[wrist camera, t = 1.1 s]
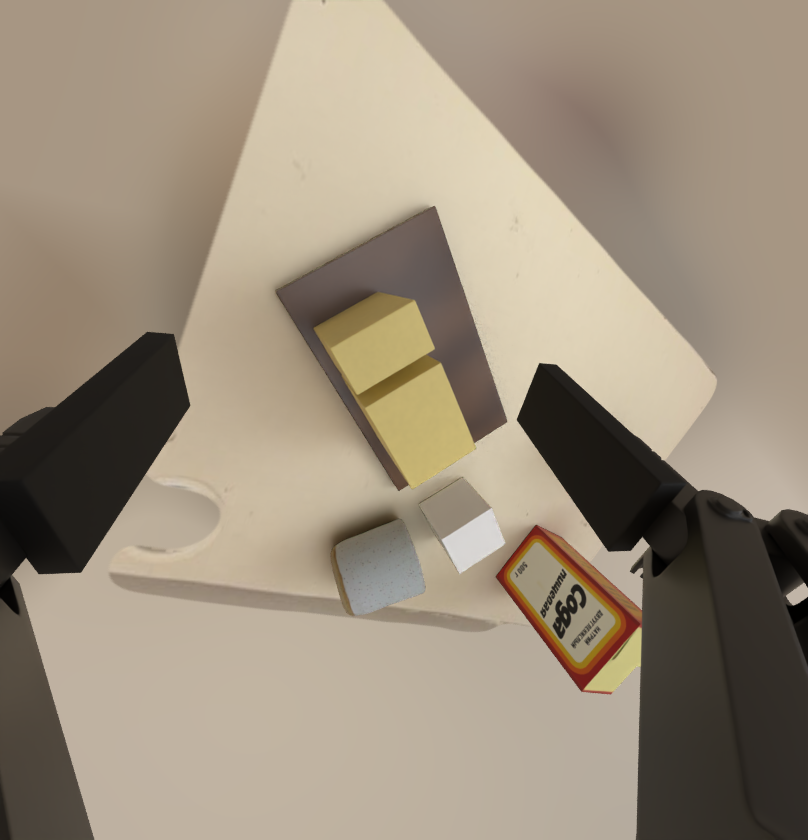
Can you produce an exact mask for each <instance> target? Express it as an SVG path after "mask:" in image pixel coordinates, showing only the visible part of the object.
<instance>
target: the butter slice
mask: <svg viewBox="0 0 808 840" xmlns="http://www.w3.org/2000/svg"><path fill="white" fill-rule="evenodd" d="M314 331H315V332H316V334H317V336H318V337H319V339H320V341H321V342H322V344H323V346H324V347H325V349H326V351H327V353H328V354H329V356H330V358H331V359H332V361H333V363H334V364H335V366H336V367H337V369H338V370H339V371H340V373H341V374H342V375H343V377H344V378H345V380H346V381H347V382H348V384H349V385H350V387H351V388H352V389H353V391H354V392H355V393H356V395H358V394H360V393H362V392H364V391H365V390H367V389H369V388H370V387H372V386H374V385H375V384H377V383H379V382H380V381H382V380H384V379H385V378H387V377H389V376H391V375H392V374H394V373H396V372H397V371H399V370H401V369H402V368H404V367H406V366H407V365H409V364H411V363H412V362H414V361H416V360H418V359H419V358H421V357H423V356H424V355H426V354H428V353H429V352H431V351H433V350H434V349H435V347H434V345H433V343H432V340H431V338H430V335H429V333H428V331H427V328H426V326H425V323H424V321H423V318H422V316H421V314H420V311H419V309H418V306H417V304H416V302H415V300H412V299H408V298H403V297H399V296H394V295H390V294H385V293H381V292H377V293H375V294H373V295H371V296H369V297H368V298H366V299H364V300H362V301H360V302H359V303H357V304H355V305H353V306H352V307H350V308H348V309H346V310H344V311H343V312H341V313H339V314H337V315H335V316H334V317H332V318H330V319H328V320H326V321H325V322H323V323H321V324H319V325H317V326H316V327H314Z"/></svg>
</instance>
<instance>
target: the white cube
mask: <svg viewBox="0 0 808 840" xmlns="http://www.w3.org/2000/svg"><path fill="white" fill-rule="evenodd" d="M418 505H419V506H420V508H421V510H422V512H423V514H424V516H425V517H426V519H427V521H428V523H429V525H430V527H431V528H432V530H433V532H434V534H435V536H436V537H437V539H438V541H439V542H440V544H441V545H442V547H443V548H444V550H445V552H446V553H447V555H448V556H449V558H450V559H451V561H452V563H453V564H454V566H455V567H456V569H457V571H458V572H459V574H461V573H462V572H464V571H465V570H467V569H468V568H470V567H471V566H473V565H474V564H476V563H477V562H479V561H480V560H482V559H483V558H485V557H486V556H488V555H489V554H491V553H493V552H494V551H496V550H497V549H499V548H500V547H502V546H503V545H505V544H506V543H505V541H504V538H503V536H502V533H501V530H500V528H499V525H498V523H497V520H496V518H495V515H494V513H493V510H492V508H491V507H490V506H489V504H488V503H487V502H486V501H485V500H484V499H483V498H482V497H481V496H480V495H479V494H478V493H477V492H476V491H475V490H474V489H473V487H472V486H471V485H470V484H469V483H468V482H467V481H466V480H465V479H464V478H463V477H462V478H460V479H459V480H457V481H455V482H454V483H452V484H451V485H449V486H447V487H446V488H444V489H443V490H441V491H439V492H438V493H436V494H434V495H433V496H431V497H430V498H428V499H426V500H425V501H423V502H422V503H420V504H418Z"/></svg>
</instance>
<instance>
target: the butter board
mask: <svg viewBox="0 0 808 840" xmlns="http://www.w3.org/2000/svg"><path fill="white" fill-rule="evenodd" d="M275 292H276V294H277V295H278V297H279V298H280V300H281V302H282V303H283V305H284V306H285V308H286V310H287V311H288V313H289V315H290V316H291V318H292V319H293V321H294V323H295V324H296V326H297V327H298V329H299V331H300V332H301V334H302V336H303V337H304V339H305V340H306V342H307V344H308V345H309V347H310V349H311V350H312V352H313V353H314V355H315V357H316V358H317V360H318V361H319V363H320V365H321V366H322V368H323V370H324V371H325V373H326V374H327V376H328V378H329V379H330V381H331V382H332V384H333V386H334V387H335V389H336V391H337V392H338V394H339V395H340V397H341V399H342V400H343V402H344V404H345V405H346V407H347V408H348V410H349V412H350V413H351V415H352V416H353V418H354V420H355V421H356V423H357V425H358V426H359V428H360V429H361V431H362V433H363V434H364V436H365V437H366V439H367V441H368V442H369V444H370V446H371V447H372V449H373V450H374V452H375V454H376V455H377V457H378V459H379V460H380V462H381V463H382V465H383V467H384V468H385V470H386V471H387V473H388V475H389V476H390V478H391V480H392V481H393V483H394V484H395V486H396V488H397V489H398V491H400V490H401V489H403V488H404V487H406V486H408V485H409V484H408V483H407V481H406V480H405V478H404V477H403V475H402V474H401V472H400V471H399V469H398V468H397V466H396V465H395V463H394V462H393V460H392V459H391V457H390V456H389V454H388V453H387V451H386V450H385V448H384V447H383V445H382V443H381V442H380V440H379V438H378V437H377V435H376V433H375V432H374V430H373V428H372V427H371V425H370V423H369V422H368V420H367V418H366V417H365V415H364V413H363V411H362V410H361V408H360V406H359V405H358V403H357V401H356V400H355V398H354V396H353V395H352V393H351V391H350V390H349V388H348V386H347V385H346V383H345V381H344V379H343V378H342V374H341V373H340V371H339V370H338V369H337V367H336V366H335V364H334V363H333V361H332V359H331V358H330V356H329V354H328V353H327V351H326V349H325V347H324V346H323V344H322V342H321V341H320V339H319V337H318V336H317V334H316V332H315V331H314V327H316V326H317V325H319V324H321V323H323V322H325V321H326V320H328V319H330V318H332V317H334V316H335V315H337V314H339V313H341V312H343V311H344V310H346V309H348V308H350V307H352V306H353V305H355V304H357V303H359V302H360V301H362V300H364V299H366V298H368V297H369V296H371V295H373V294H375V293H377V292H381V293H385V294H390V295H394V296H399V297H403V298H408V299H412V300H415V302H416V304H417V306H418V309H419V311H420V314H421V316H422V318H423V321H424V323H425V326H426V328H427V331H428V333H429V335H430V338H431V340H432V343H433V345H434V347H435V349H434V350H433V351H431V352H429V353H428V354H426V355H428V356H430V357H431V358H433V359H435V360H437V361H439V362H441V364H442V366H443V369H444V371H445V374H446V376H447V379H448V381H449V383H450V386H451V388H452V391H453V393H454V395H455V398H456V400H457V403H458V405H459V408H460V410H461V412H462V415H463V417H464V420H465V422H466V424H467V427H468V429H469V432H470V434H471V437H472V439H473V441H474V443H475V442H477V441H478V440H480V439H481V438H483V437H484V436H486V435H488V434H489V433H491V432H492V431H494V430H495V429H497V428H498V427H500V426H502V425H503V424H505V423H506V422H507V419H506V416H505V413H504V410H503V407H502V404H501V401H500V398H499V395H498V392H497V389H496V386H495V383H494V380H493V377H492V374H491V371H490V368H489V365H488V362H487V359H486V356H485V353H484V350H483V347H482V344H481V341H480V338H479V335H478V332H477V329H476V326H475V323H474V320H473V317H472V314H471V311H470V308H469V305H468V302H467V299H466V296H465V293H464V290H463V287H462V284H461V282H460V279H459V276H458V273H457V270H456V267H455V264H454V261H453V258H452V255H451V252H450V249H449V246H448V243H447V240H446V237H445V234H444V231H443V228H442V225H441V222H440V219H439V216H438V213H437V210H436V207H435V206H433V207H430V208H428V209H426V210H424V211H423V212H421V213H419V214H417V215H415V216H413V217H411V218H410V219H408V220H406V221H404V222H402V223H400V224H398V225H397V226H395V227H393V228H391V229H389V230H387V231H385V232H383V233H382V234H380V235H378V236H376V237H374V238H372V239H370V240H369V241H367V242H365V243H363V244H361V245H359V246H357V247H356V248H354V249H352V250H350V251H348V252H346V253H344V254H343V255H341V256H339V257H337V258H335V259H333V260H331V261H330V262H328V263H326V264H324V265H322V266H320V267H318V268H316V269H315V270H313V271H311V272H309V273H307V274H305V275H303V276H302V277H300V278H298V279H296V280H294V281H292V282H290V283H289V284H287V285H285V286H283V287H281V288H279V289H277V290H276V291H275Z"/></svg>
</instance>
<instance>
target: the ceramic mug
mask: <svg viewBox="0 0 808 840" xmlns="http://www.w3.org/2000/svg"><path fill="white" fill-rule="evenodd" d="M331 563H332V568H333V573H334V577H335V581H336V584H337V588H338V592H339V595H340V598H341V601H342V604H343V607H344V609H345V611H346V613H348V614H349V615H351V616H357V615H362V614H367V613H370V612H373V611H375V610H378V609H380V608H383V607H385V606H388V605H391V604H394V603H397V602H400V601H403V600H405V599H408V598H411V597H414V596H417V595H419V594H422V593H424V592H425V582H424V578H423V574H422V569H421V566H420V562H419V559H418V556H417V554H416V551H415V548H414V545H413V543H412V540H411V538H410V535H409V533H408V531H407V528H406V527H405V525H404V523H403V521H402V520H401V519H397V520H394V521H392V522H390V523H387V524H385V525H382V526H379V527H377V528H374V529H372V530H369V531H367V532H365V533H362V534H359V535H357V536H354V537H351V538H349V539H346V540H344V541H342V542H340V543H339V544H337V545H336V546H334V547H333V549H332V551H331Z"/></svg>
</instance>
